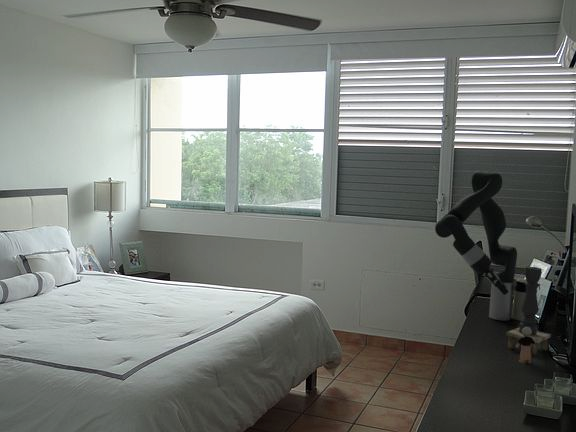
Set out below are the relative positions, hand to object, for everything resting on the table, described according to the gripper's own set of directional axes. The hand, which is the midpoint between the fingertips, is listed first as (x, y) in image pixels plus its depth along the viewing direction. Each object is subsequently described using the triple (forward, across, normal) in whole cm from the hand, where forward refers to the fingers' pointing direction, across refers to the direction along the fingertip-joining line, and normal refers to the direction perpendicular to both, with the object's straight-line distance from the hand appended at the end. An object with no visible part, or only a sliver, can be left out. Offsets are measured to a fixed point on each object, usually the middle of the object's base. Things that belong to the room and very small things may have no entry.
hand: (505, 291), depth 231 cm
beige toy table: (+22, 0, +8) cm, 23 cm away
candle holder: (+18, 0, +4) cm, 18 cm away
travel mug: (+24, +48, +6) cm, 54 cm away
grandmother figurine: (+20, -18, +11) cm, 29 cm away
